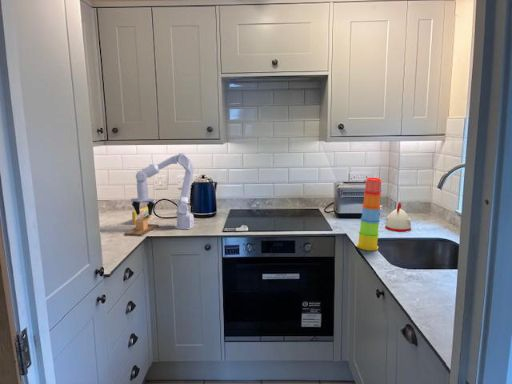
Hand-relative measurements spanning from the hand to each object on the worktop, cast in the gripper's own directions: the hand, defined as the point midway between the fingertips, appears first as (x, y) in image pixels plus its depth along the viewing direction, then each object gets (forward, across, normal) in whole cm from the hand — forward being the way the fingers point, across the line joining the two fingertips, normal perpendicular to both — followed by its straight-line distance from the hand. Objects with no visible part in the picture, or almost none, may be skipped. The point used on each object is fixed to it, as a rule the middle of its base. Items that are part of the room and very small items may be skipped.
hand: (144, 214), depth 218 cm
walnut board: (+9, -1, -2) cm, 9 cm away
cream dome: (+10, +144, +30) cm, 147 cm away
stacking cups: (+10, +125, -8) cm, 125 cm away
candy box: (+10, -12, +18) cm, 23 cm away
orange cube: (+8, -1, -2) cm, 8 cm away
